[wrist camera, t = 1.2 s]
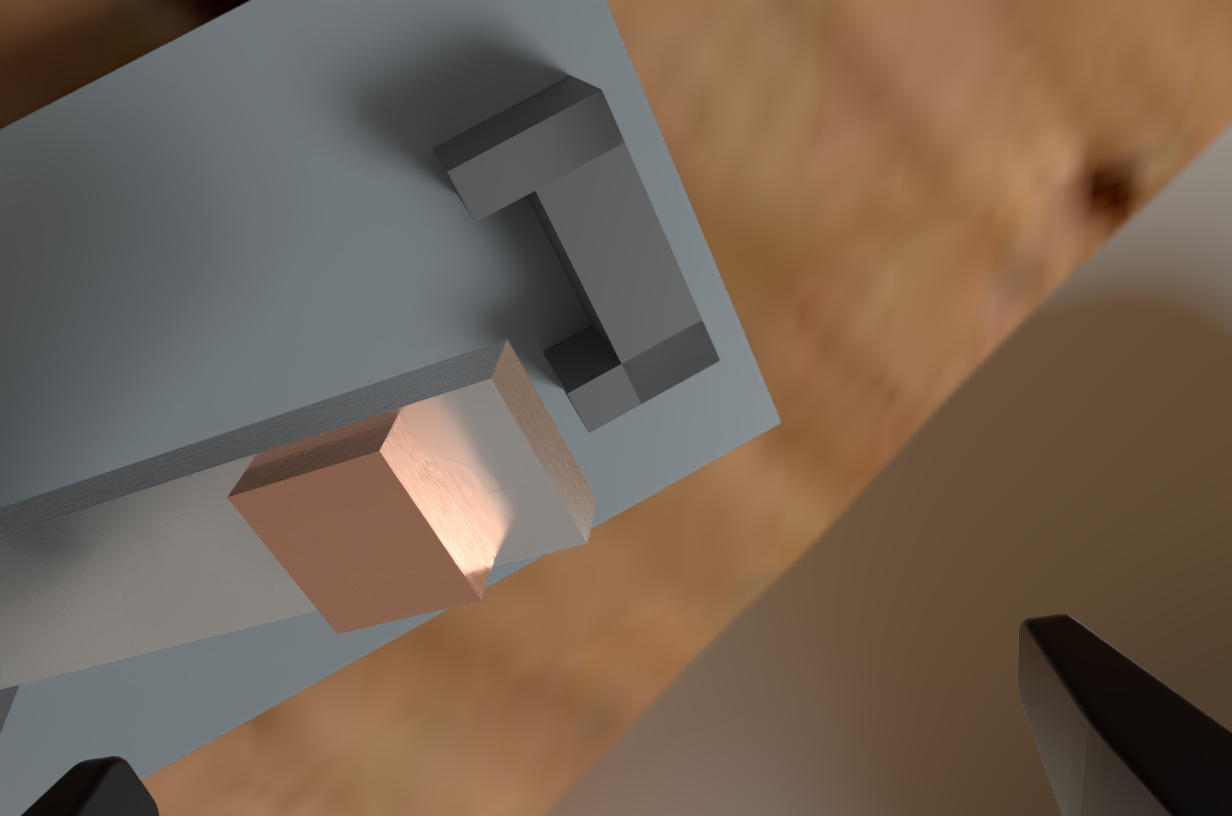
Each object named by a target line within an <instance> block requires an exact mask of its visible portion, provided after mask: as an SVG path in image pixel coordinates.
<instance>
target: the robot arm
mask: <svg viewBox="0 0 1232 816" xmlns="http://www.w3.org/2000/svg"><path fill="white" fill-rule="evenodd" d="M1017 684H1018V689H1019V695H1020V698H1021V702H1022V705H1023V708H1024V711H1025V713H1026V716H1027V719H1028V722H1029V725H1030V727H1031V730H1032V733H1033V736H1034V738H1035V741H1036V744H1037V747H1038V749H1039V753H1040V755H1041V758H1042V761H1043V764H1044V767H1045V769H1046V772H1047V775H1048V778H1049V780H1050V783H1051V786H1052V789H1053V792H1054V795H1055V797H1056V800H1057V803H1058V806H1059V809H1060V811H1061V814H1062V816H1232V732H1231V731H1230V730H1228V729H1227V728H1226V727H1224V726H1223V725H1222V724H1220V723H1219V722H1217V721H1216V720H1215V719H1213V718H1212V717H1211V716H1209V715H1208V714H1206V713H1205V712H1204V711H1202V710H1201V709H1199V708H1198V707H1197V706H1195V705H1194V704H1192V703H1191V702H1190V701H1188V700H1187V699H1186V698H1184V697H1183V696H1181V695H1180V694H1178V693H1177V692H1176V691H1174V690H1173V689H1172V688H1170V687H1169V686H1167V685H1166V684H1165V683H1163V682H1162V681H1161V680H1159V679H1158V678H1156V677H1155V676H1154V675H1152V674H1151V673H1149V672H1148V671H1147V670H1145V669H1144V668H1142V667H1141V666H1140V665H1138V664H1137V663H1135V662H1134V661H1133V660H1131V659H1130V658H1129V657H1127V656H1126V655H1124V654H1123V653H1122V652H1120V651H1119V650H1118V649H1116V648H1115V647H1113V646H1112V645H1111V644H1109V643H1108V642H1106V641H1105V640H1104V639H1102V638H1101V637H1099V636H1098V635H1097V634H1095V633H1094V632H1093V631H1091V630H1090V629H1088V628H1087V627H1086V626H1084V625H1083V624H1081V623H1080V622H1079V621H1077V620H1076V619H1074V618H1073V617H1071V616H1069V615H1067V614H1063V613H1056V614H1049V615H1043V616H1036V617H1029V618H1026V619H1024V620H1023V621H1022V622H1021V625H1020V628H1019V640H1018V665H1017ZM21 816H159V811H158V808H157V805H156V803H155V801H154V799H153V798H152V796H151V795H150V793H149V792H148V790H147V789H146V788H145V786H144V785H143V783H142V782H141V780H140V779H139V777H138V776H137V774H136V773H135V771H134V770H133V768H132V767H131V766H130V764H129V763H128V762H127V761H126V760H125V759H123V758H121V757H119V756H110V757H103V758H96V759H90V760H85V761H82V762H79V763H78V764H76V765H74V766H73V767H72V768H71V769H70V770H69V771H68V772H66V773H65V774H64V775H63V776H62V777H61V778H60V779H59V780H58V781H57V782H56V783H55V784H54V785H53V786H52V787H50V788H49V789H48V790H47V791H46V792H45V793H44V794H43V795H42V796H41V797H40V798H39V799H38V800H37V801H36V802H34V803H33V804H32V805H31V806H30V807H29V808H28V809H27V810H26V811H25V812H24V813H23V814H22V815H21Z"/></svg>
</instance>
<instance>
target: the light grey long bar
mask: <svg viewBox="0 0 1232 816" xmlns="http://www.w3.org/2000/svg"><path fill="white" fill-rule="evenodd" d="M596 500H597V498H596V497H595V495H594V493H593V491H592V489H591V488H590V486H589V484H588V482H587V480H586V479H585V477H584V475H583V473H582V471H581V470H580V468H579V466H578V464H577V463H576V461H575V459H574V457H573V455H572V454H571V452H570V450H569V448H568V446H567V445H566V443H565V441H564V439H563V438H562V436H561V434H560V432H559V430H558V429H557V427H556V425H555V423H554V421H553V420H552V418H551V416H550V414H549V412H548V411H547V409H546V407H545V405H544V404H543V402H542V400H541V398H540V396H539V395H538V393H537V391H536V389H535V387H534V386H533V384H532V382H531V380H530V379H529V377H528V375H527V373H526V371H525V370H524V368H523V366H522V364H521V362H520V361H519V359H518V357H517V355H516V353H515V352H514V350H513V348H512V346H511V345H510V343H509V341H508V339H506V340H503V341H500V342H497V343H494V344H491V345H488V346H485V347H482V348H479V349H476V350H473V351H470V352H467V353H464V354H461V355H458V356H455V357H452V358H449V359H446V360H443V361H440V362H437V363H434V364H431V365H428V366H425V367H422V368H419V369H416V370H413V371H410V372H407V373H404V374H401V375H398V376H395V377H392V378H389V379H386V380H383V381H380V382H377V383H374V384H371V385H368V386H365V387H362V388H359V389H356V390H353V391H350V392H347V393H344V394H341V395H338V396H335V397H332V398H329V399H326V400H323V401H320V402H317V403H314V404H311V405H308V406H305V407H302V408H299V409H296V410H293V411H290V412H287V413H284V414H281V415H278V416H275V417H272V418H269V419H266V420H263V421H260V422H257V423H254V424H251V425H248V426H245V427H242V428H239V429H236V430H233V431H230V432H227V433H224V434H221V435H218V436H215V437H212V438H209V439H205V440H202V441H199V442H196V443H193V444H190V445H187V446H184V447H181V448H178V449H175V450H172V451H169V452H166V453H163V454H160V455H157V456H154V457H151V458H148V459H145V460H142V461H139V462H136V463H133V464H130V465H127V466H124V467H121V468H118V469H115V470H112V471H109V472H106V473H103V474H100V475H97V476H94V477H91V478H88V479H85V480H82V481H79V482H76V483H73V484H70V485H67V486H64V487H61V488H58V489H55V490H52V491H49V492H46V493H43V494H40V495H37V496H34V497H31V498H28V499H25V500H22V501H19V502H16V503H13V504H10V505H7V506H4V507H1V508H0V690H1V689H5V688H9V687H13V686H17V685H21V684H25V683H29V682H33V681H37V680H41V679H45V678H49V677H53V676H57V675H61V674H65V673H69V672H73V671H77V670H81V669H85V668H89V667H93V666H97V665H101V664H105V663H109V662H113V661H117V660H121V659H125V658H129V657H133V656H137V655H141V654H145V653H149V652H153V651H157V650H161V649H165V648H169V647H173V646H177V645H181V644H185V643H189V642H193V641H197V640H201V639H205V638H209V637H213V636H217V635H221V634H225V633H229V632H233V631H237V630H241V629H245V628H250V627H254V626H258V625H262V624H266V623H270V622H274V621H278V620H282V619H286V618H290V617H294V616H298V615H302V614H306V613H310V612H314V611H319V612H320V613H321V615H322V616H323V617H324V618H325V620H326V621H327V622H328V623H329V625H330V626H331V627H332V628H333V630H334V631H335V632H336V633H337V634H341V633H346V632H350V631H354V630H358V629H362V628H367V627H371V626H375V625H379V624H384V623H388V622H392V621H396V620H400V619H405V618H409V617H413V616H417V615H421V614H426V613H430V612H434V611H438V610H442V609H447V608H451V607H455V606H459V605H464V604H468V603H472V602H476V601H480V600H482V596H483V593H484V590H485V587H486V584H487V581H488V578H489V575H490V571H491V568H492V567H494V566H498V565H502V564H507V563H511V562H515V561H519V560H523V559H527V558H531V557H535V556H539V555H543V554H547V553H551V552H555V551H559V550H563V549H567V548H571V547H575V546H579V545H583V544H587V542H588V538H589V533H590V528H591V524H592V519H593V514H594V510H595V505H596Z"/></svg>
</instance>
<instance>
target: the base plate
mask: <svg viewBox="0 0 1232 816" xmlns="http://www.w3.org/2000/svg"><path fill="white" fill-rule="evenodd" d="M506 339H508V341H509V343H510V345H511V346H512V348H513V350H514V352H515V353H516V355H517V357H518V359H519V361H520V362H521V364H522V366H523V368H524V370H525V371H526V373H527V375H528V377H529V379H530V380H531V382H532V384H533V386H534V387H535V389H536V391H537V393H538V395H539V396H540V398H541V400H542V402H543V404H544V405H545V407H546V409H547V411H548V412H549V414H550V416H551V418H552V420H553V421H554V423H555V425H556V427H557V429H558V430H559V432H560V434H561V436H562V438H563V439H564V441H565V443H566V445H567V446H568V448H569V450H570V452H571V454H572V455H573V457H574V459H575V461H576V463H577V464H578V466H579V468H580V470H581V471H582V473H583V475H584V477H585V479H586V480H587V482H588V484H589V486H590V488H591V489H592V491H593V493H594V495H595V497H596V498H597V500H596V505H595V510H594V514H593V519H592V524H591V528H590V530H591V529H592V528H594V527H596V526H598V525H600V524H601V523H603V522H605V521H607V520H608V519H610V518H612V517H614V516H616V515H617V514H619V513H621V512H623V511H625V510H626V509H628V508H630V507H632V506H634V505H635V504H637V503H639V502H641V501H642V500H644V499H646V498H648V497H650V496H651V495H653V494H655V493H657V492H659V491H660V490H662V489H664V488H666V487H668V486H669V485H671V484H673V483H675V482H676V481H678V480H680V479H682V478H684V477H685V476H687V475H689V474H691V473H693V472H694V471H696V470H698V469H700V468H702V467H703V466H705V465H707V464H709V463H710V462H712V461H714V460H716V459H718V458H719V457H721V456H723V455H725V454H727V453H728V452H730V451H732V450H734V449H736V448H737V447H739V446H741V445H743V444H744V443H746V442H748V441H750V440H752V439H753V438H755V437H757V436H759V435H761V434H762V433H764V432H766V431H768V430H770V429H771V428H773V427H775V426H777V425H778V424H780V423H781V420H780V418H779V416H778V413H777V411H776V408H775V406H774V403H773V401H772V399H771V396H770V394H769V391H768V389H767V387H766V384H765V382H764V379H763V377H762V375H761V372H760V370H759V367H758V365H757V363H756V360H755V358H754V355H753V353H752V350H751V348H750V346H749V343H748V341H747V338H746V336H745V334H744V331H743V329H742V326H741V324H740V322H739V319H738V317H737V314H736V312H735V310H734V307H733V305H732V302H731V300H730V297H729V295H728V293H727V290H726V288H725V285H724V283H723V281H722V278H721V276H720V273H719V271H718V269H717V266H716V264H715V261H714V259H713V257H712V254H711V252H710V249H709V247H708V244H707V242H706V240H705V237H704V235H703V232H702V230H701V228H700V225H699V223H698V220H697V218H696V216H695V213H694V211H693V208H692V206H691V204H690V201H689V199H688V196H687V194H686V191H685V189H684V187H683V184H682V182H681V179H680V177H679V175H678V172H677V170H676V167H675V165H674V163H673V160H672V158H671V155H670V153H669V151H668V148H667V146H666V143H665V141H664V138H663V136H662V134H661V131H660V129H659V126H658V124H657V122H656V119H655V117H654V114H653V112H652V110H651V107H650V105H649V102H648V100H647V98H646V95H645V93H644V90H643V88H642V85H641V83H640V81H639V78H638V76H637V73H636V71H635V69H634V66H633V64H632V61H631V59H630V57H629V54H628V52H627V49H626V47H625V45H624V42H623V40H622V37H621V35H620V32H619V30H618V28H617V25H616V23H615V20H614V18H613V16H612V13H611V11H610V8H609V6H608V4H607V1H606V0H249V1H247V2H245V3H243V4H241V5H239V6H237V7H235V8H233V9H231V10H229V11H227V12H225V13H224V14H222V15H220V16H218V17H216V18H214V19H212V20H210V21H208V22H206V23H204V24H202V25H200V26H198V27H196V28H194V29H193V30H191V31H189V32H187V33H185V34H183V35H181V36H179V37H177V38H175V39H173V40H171V41H169V42H167V43H165V44H163V45H162V46H160V47H158V48H156V49H154V50H152V51H150V52H148V53H146V54H144V55H142V56H140V57H138V58H136V59H134V60H132V61H131V62H129V63H127V64H125V65H123V66H121V67H119V68H117V69H115V70H113V71H111V72H109V73H107V74H105V75H103V76H101V77H100V78H98V79H96V80H94V81H92V82H90V83H88V84H86V85H84V86H82V87H80V88H78V89H76V90H74V91H72V92H70V93H69V94H67V95H65V96H63V97H61V98H59V99H57V100H55V101H53V102H51V103H49V104H47V105H45V106H43V107H41V108H39V109H38V110H36V111H34V112H32V113H30V114H28V115H26V116H24V117H22V118H20V119H18V120H16V121H14V122H12V123H10V124H9V125H7V126H5V127H3V128H1V129H0V508H1V507H4V506H7V505H10V504H13V503H16V502H19V501H22V500H25V499H28V498H31V497H34V496H37V495H40V494H43V493H46V492H49V491H52V490H55V489H58V488H61V487H64V486H67V485H70V484H73V483H76V482H79V481H82V480H85V479H88V478H91V477H94V476H97V475H100V474H103V473H106V472H109V471H112V470H115V469H118V468H121V467H124V466H127V465H130V464H133V463H136V462H139V461H142V460H145V459H148V458H151V457H154V456H157V455H160V454H163V453H166V452H169V451H172V450H175V449H178V448H181V447H184V446H187V445H190V444H193V443H196V442H199V441H202V440H205V439H209V438H212V437H215V436H218V435H221V434H224V433H227V432H230V431H233V430H236V429H239V428H242V427H245V426H248V425H251V424H254V423H257V422H260V421H263V420H266V419H269V418H272V417H275V416H278V415H281V414H284V413H287V412H290V411H293V410H296V409H299V408H302V407H305V406H308V405H311V404H314V403H317V402H320V401H323V400H326V399H329V398H332V397H335V396H338V395H341V394H344V393H347V392H350V391H353V390H356V389H359V388H362V387H365V386H368V385H371V384H374V383H377V382H380V381H383V380H386V379H389V378H392V377H395V376H398V375H401V374H404V373H407V372H410V371H413V370H416V369H419V368H422V367H425V366H428V365H431V364H434V363H437V362H440V361H443V360H446V359H449V358H452V357H455V356H458V355H461V354H464V353H467V352H470V351H473V350H476V349H479V348H482V347H485V346H488V345H491V344H494V343H497V342H500V341H503V340H506ZM547 554H548V553H547ZM544 555H546V554H543V555H539V556H535V557H531V558H527V559H523V560H519V561H515V562H511V563H507V564H502V565H498V566H494V567H492V568H491V571H490V575H489V578H488V581H487V584H486V587H485V588H487V587H489V586H490V585H492V584H494V583H496V582H498V581H499V580H501V579H503V578H505V577H506V576H508V575H510V574H512V573H514V572H515V571H517V570H519V569H521V568H523V567H524V566H526V565H528V564H530V563H532V562H533V561H535V560H537V559H539V558H540V557H542V556H544ZM447 609H449V608H447ZM447 609H442V610H438V611H434V612H430V613H426V614H421V615H417V616H413V617H409V618H405V619H400V620H396V621H392V622H388V623H384V624H379V625H375V626H371V627H367V628H362V629H358V630H354V631H350V632H346V633H341V634H337V633H336V632H335V631H334V630H333V628H332V627H331V626H330V625H329V623H328V622H327V621H326V620H325V618H324V617H323V616H322V615H321V613H320V612H319V611H314V612H310V613H306V614H302V615H298V616H294V617H290V618H286V619H282V620H278V621H274V622H270V623H266V624H262V625H258V626H254V627H250V628H245V629H241V630H237V631H233V632H229V633H225V634H221V635H217V636H213V637H209V638H205V639H201V640H197V641H193V642H189V643H185V644H181V645H177V646H173V647H169V648H165V649H161V650H157V651H153V652H149V653H145V654H141V655H137V656H133V657H129V658H125V659H121V660H117V661H113V662H109V663H105V664H101V665H97V666H93V667H89V668H85V669H81V670H77V671H73V672H69V673H65V674H61V675H57V676H53V677H49V678H45V679H41V680H37V681H33V682H29V683H25V684H21V685H17V686H13V687H9V688H5V689H1V690H0V816H21V815H22V814H23V813H24V812H25V811H26V810H27V809H28V808H29V807H30V806H31V805H32V804H33V803H34V802H36V801H37V800H38V799H39V798H40V797H41V796H42V795H43V794H44V793H45V792H46V791H47V790H48V789H49V788H50V787H52V786H53V785H54V784H55V783H56V782H57V781H58V780H59V779H60V778H61V777H62V776H63V775H64V774H65V773H66V772H68V771H69V770H70V769H71V768H72V767H73V766H74V765H76V764H78V763H79V762H82V761H85V760H90V759H96V758H103V757H110V756H119V757H121V758H123V759H125V760H126V761H127V762H128V763H129V764H130V766H131V767H132V768H133V770H134V771H135V773H136V774H137V776H138V777H139V779H140V780H143V779H145V778H147V777H149V776H150V775H152V774H154V773H156V772H158V771H159V770H161V769H163V768H165V767H166V766H168V765H170V764H172V763H174V762H175V761H177V760H179V759H181V758H183V757H184V756H186V755H188V754H190V753H192V752H193V751H195V750H197V749H199V748H200V747H202V746H204V745H206V744H208V743H209V742H211V741H213V740H215V739H217V738H218V737H220V736H222V735H224V734H226V733H227V732H229V731H231V730H233V729H234V728H236V727H238V726H240V725H242V724H243V723H245V722H247V721H249V720H251V719H252V718H254V717H256V716H258V715H260V714H261V713H263V712H265V711H267V710H268V709H270V708H272V707H274V706H276V705H277V704H279V703H281V702H283V701H285V700H286V699H288V698H290V697H292V696H294V695H295V694H297V693H299V692H301V691H302V690H304V689H306V688H308V687H310V686H311V685H313V684H315V683H317V682H319V681H320V680H322V679H324V678H326V677H328V676H329V675H331V674H333V673H335V672H336V671H338V670H340V669H342V668H344V667H345V666H347V665H349V664H351V663H353V662H354V661H356V660H358V659H360V658H362V657H363V656H365V655H367V654H369V653H370V652H372V651H374V650H376V649H378V648H379V647H381V646H383V645H385V644H387V643H388V642H390V641H392V640H394V639H396V638H397V637H399V636H401V635H403V634H404V633H406V632H408V631H410V630H412V629H413V628H415V627H417V626H419V625H421V624H422V623H424V622H426V621H428V620H430V619H431V618H433V617H435V616H437V615H438V614H440V613H442V612H444V611H446V610H447Z"/></svg>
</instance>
